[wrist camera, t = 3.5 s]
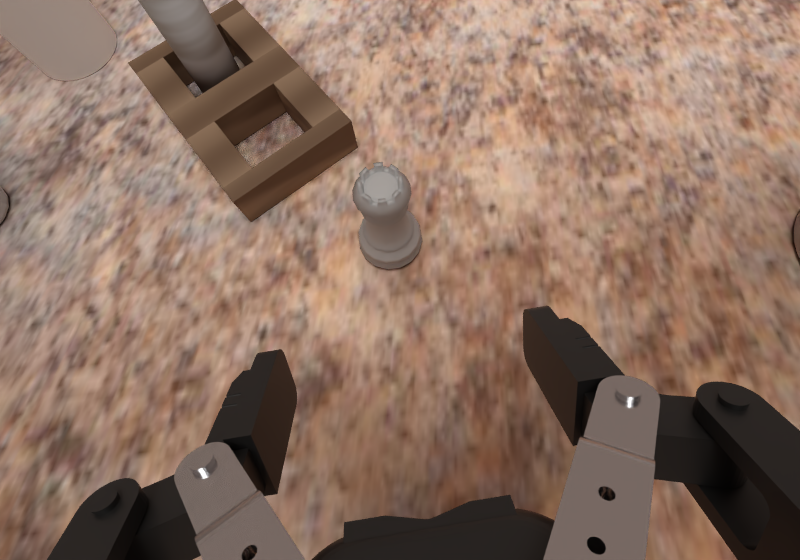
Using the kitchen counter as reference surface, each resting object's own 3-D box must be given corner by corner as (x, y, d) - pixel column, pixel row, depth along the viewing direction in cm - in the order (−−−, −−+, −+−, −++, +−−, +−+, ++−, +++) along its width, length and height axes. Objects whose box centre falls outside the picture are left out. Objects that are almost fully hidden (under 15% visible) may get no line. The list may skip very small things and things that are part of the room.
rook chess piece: (363, 212, 30) (344, 144, 22) (424, 216, 29) (425, 148, 22) (356, 269, 28) (332, 218, 21) (419, 273, 28) (418, 223, 20)
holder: (152, 91, 34) (39, -41, 24) (250, 31, 36) (182, -118, 26) (251, 221, 30) (163, 126, 20) (357, 147, 31) (327, 23, 21)
